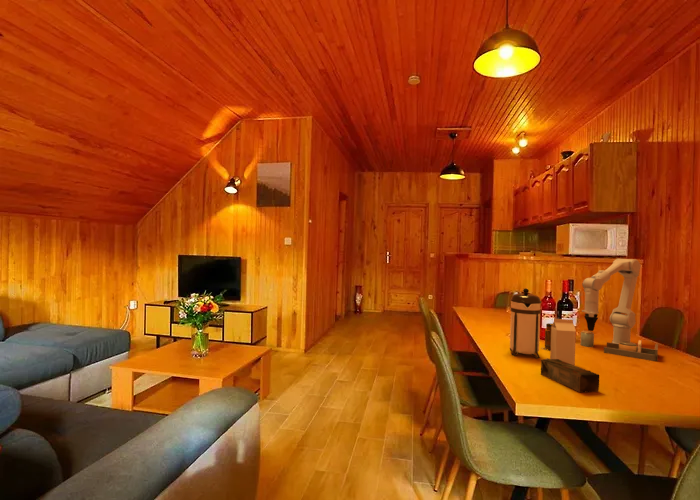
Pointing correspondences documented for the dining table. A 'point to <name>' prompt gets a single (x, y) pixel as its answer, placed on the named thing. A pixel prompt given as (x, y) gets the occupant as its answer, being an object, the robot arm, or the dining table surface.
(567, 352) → the milk carton
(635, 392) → the dining table surface
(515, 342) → the coffee press
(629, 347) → the amber jar
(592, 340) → the slate jar
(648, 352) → the pusher lane
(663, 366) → the dining table surface
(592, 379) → the dark brown block
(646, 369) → the dining table surface
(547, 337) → the condiment
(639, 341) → the pusher plate
